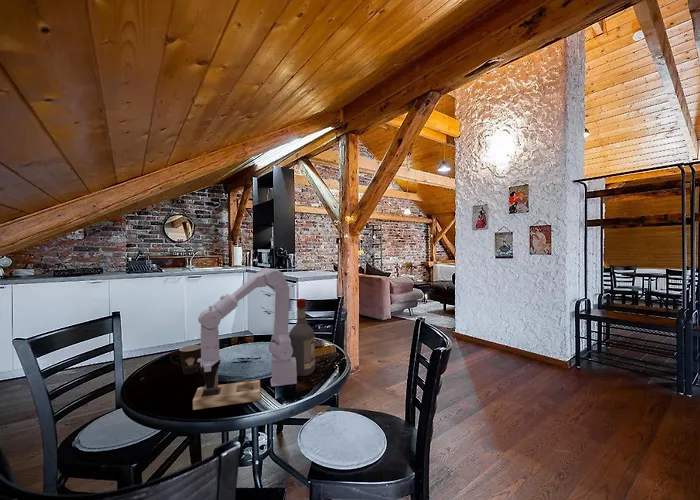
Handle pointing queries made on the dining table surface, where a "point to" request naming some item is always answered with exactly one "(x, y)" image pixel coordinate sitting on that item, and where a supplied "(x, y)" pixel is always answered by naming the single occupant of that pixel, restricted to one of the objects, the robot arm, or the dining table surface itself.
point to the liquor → (303, 342)
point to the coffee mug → (189, 358)
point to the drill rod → (212, 390)
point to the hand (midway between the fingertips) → (211, 384)
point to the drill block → (228, 395)
